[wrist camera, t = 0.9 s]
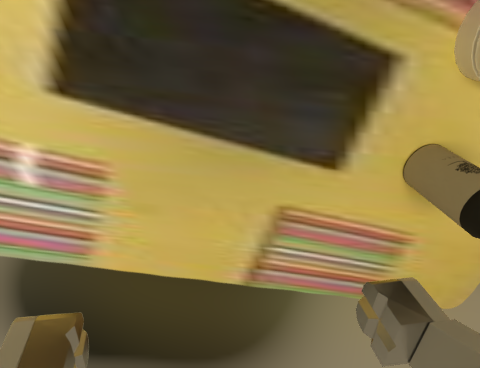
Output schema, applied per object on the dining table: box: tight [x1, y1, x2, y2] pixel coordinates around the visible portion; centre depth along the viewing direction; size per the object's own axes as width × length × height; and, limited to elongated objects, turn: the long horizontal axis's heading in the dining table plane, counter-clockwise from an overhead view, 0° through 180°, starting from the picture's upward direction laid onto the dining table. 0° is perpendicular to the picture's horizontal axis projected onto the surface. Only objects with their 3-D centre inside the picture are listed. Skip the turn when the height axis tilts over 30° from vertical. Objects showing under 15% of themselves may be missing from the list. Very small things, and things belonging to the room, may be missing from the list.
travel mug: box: [404, 144, 480, 239], centre depth 51 cm, size 8×8×18 cm
